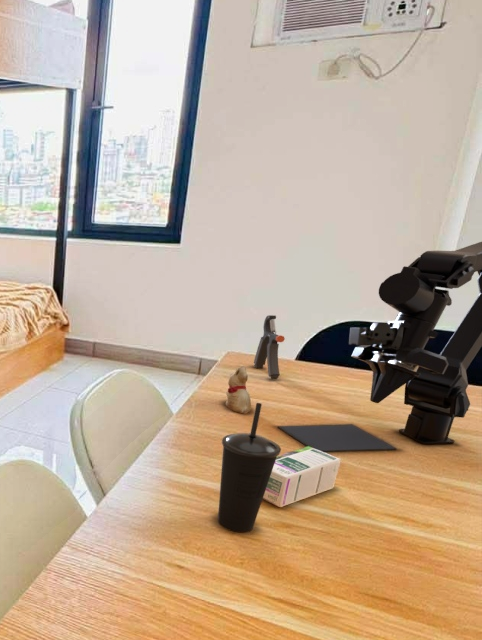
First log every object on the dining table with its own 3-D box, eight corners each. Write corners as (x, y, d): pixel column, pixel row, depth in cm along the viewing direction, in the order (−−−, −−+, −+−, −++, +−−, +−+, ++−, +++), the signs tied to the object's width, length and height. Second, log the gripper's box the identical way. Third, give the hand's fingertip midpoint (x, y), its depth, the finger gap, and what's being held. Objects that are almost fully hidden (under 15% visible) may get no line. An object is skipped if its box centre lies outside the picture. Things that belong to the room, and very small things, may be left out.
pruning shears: (270, 381, 159) (281, 323, 154) (252, 366, 171) (262, 312, 166) (279, 381, 159) (291, 323, 154) (261, 366, 171) (271, 312, 165)
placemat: (351, 425, 132) (352, 424, 132) (396, 449, 121) (396, 448, 121) (277, 427, 132) (277, 426, 132) (315, 452, 120) (315, 450, 120)
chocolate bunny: (252, 403, 145) (260, 362, 141) (249, 414, 138) (257, 372, 135) (225, 399, 147) (232, 359, 144) (221, 410, 141) (228, 368, 138)
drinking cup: (258, 515, 99) (283, 397, 92) (267, 541, 92) (295, 416, 86) (205, 508, 102) (226, 392, 95) (210, 532, 95) (233, 410, 88)
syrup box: (342, 458, 105) (286, 475, 99) (334, 489, 107) (278, 508, 101) (308, 445, 110) (253, 461, 104) (301, 475, 112) (246, 492, 106)
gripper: (343, 307, 121) (306, 381, 124) (399, 303, 103) (355, 390, 106) (402, 327, 120) (364, 402, 122) (470, 327, 101) (423, 415, 104)
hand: (374, 402), depth 114 cm, fingers closed
